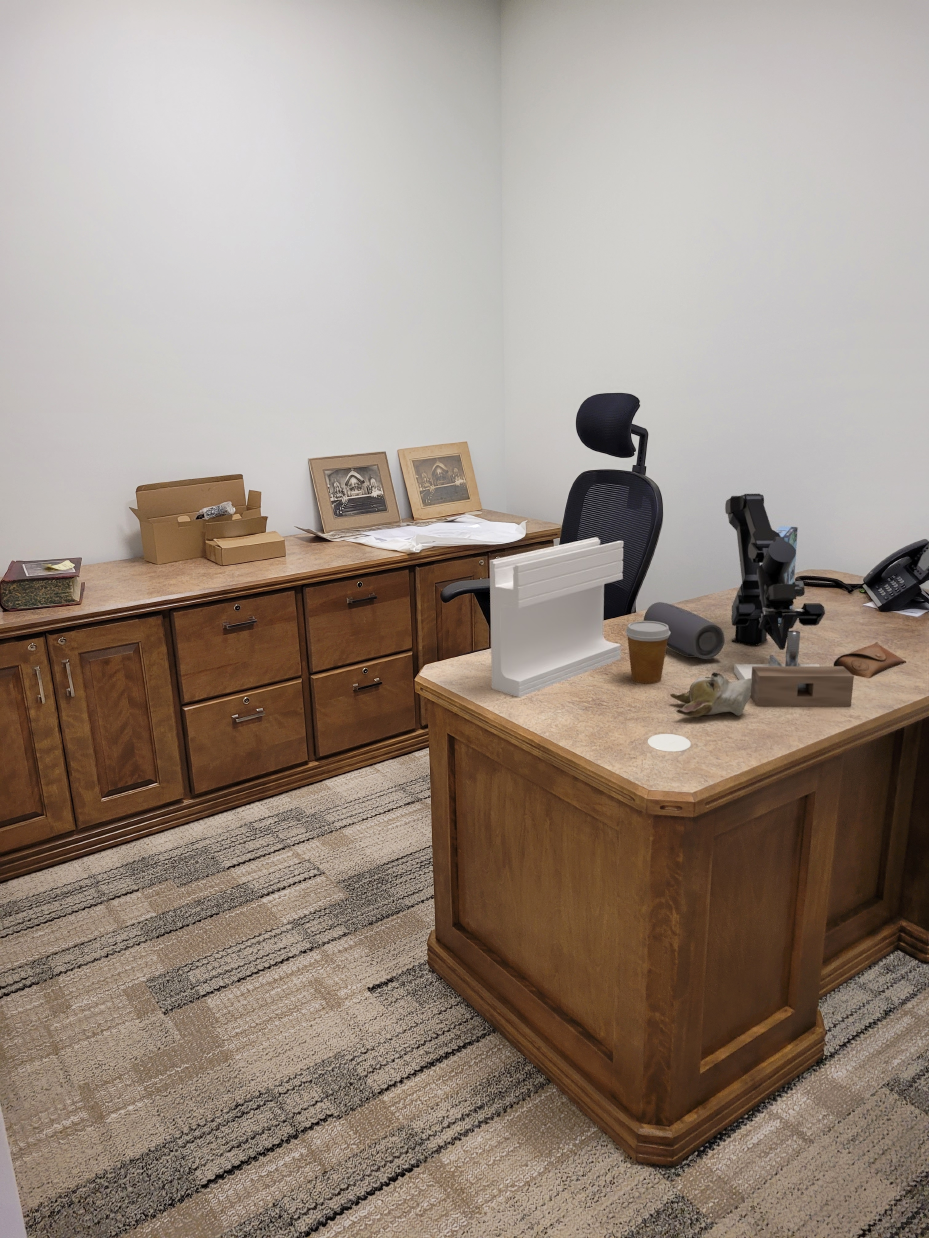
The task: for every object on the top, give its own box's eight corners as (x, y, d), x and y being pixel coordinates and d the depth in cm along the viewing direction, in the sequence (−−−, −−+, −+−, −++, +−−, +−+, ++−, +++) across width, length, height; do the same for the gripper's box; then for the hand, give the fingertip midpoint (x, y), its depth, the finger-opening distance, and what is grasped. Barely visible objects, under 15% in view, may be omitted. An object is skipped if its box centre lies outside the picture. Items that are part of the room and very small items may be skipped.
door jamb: (750, 695, 179) (752, 666, 177) (840, 695, 178) (843, 666, 176) (757, 706, 173) (759, 676, 171) (850, 706, 172) (853, 676, 170)
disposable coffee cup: (670, 673, 193) (673, 621, 190) (665, 688, 185) (668, 633, 181) (627, 670, 196) (629, 619, 193) (620, 684, 188) (622, 630, 184)
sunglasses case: (870, 679, 186) (857, 650, 188) (841, 688, 192) (829, 659, 193) (908, 661, 197) (896, 634, 199) (880, 670, 203) (868, 643, 204)
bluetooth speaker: (640, 640, 219) (641, 601, 216) (673, 636, 221) (674, 598, 219) (690, 666, 198) (692, 624, 195) (725, 661, 201) (727, 620, 198)
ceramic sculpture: (758, 679, 162) (676, 683, 164) (758, 723, 164) (677, 726, 166) (745, 662, 172) (668, 666, 174) (746, 703, 175) (669, 707, 176)
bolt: (782, 676, 183) (786, 630, 180) (794, 676, 182) (798, 630, 180) (794, 689, 175) (798, 641, 172) (806, 689, 175) (810, 641, 172)
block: (593, 652, 210) (595, 537, 203) (620, 659, 205) (623, 541, 197) (491, 688, 187) (489, 560, 180) (519, 697, 181) (518, 565, 174)
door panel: (734, 672, 193) (735, 652, 192) (817, 672, 191) (819, 652, 190) (746, 689, 182) (747, 668, 181) (834, 689, 181) (836, 667, 180)
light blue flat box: (782, 624, 230) (789, 538, 224) (762, 622, 232) (768, 537, 226) (793, 607, 246) (799, 526, 240) (774, 605, 249) (780, 525, 243)
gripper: (737, 567, 188) (746, 631, 181) (826, 567, 187) (839, 631, 179) (727, 593, 198) (735, 655, 190) (811, 593, 196) (823, 655, 189)
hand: (782, 649), depth 187 cm, fingers closed
